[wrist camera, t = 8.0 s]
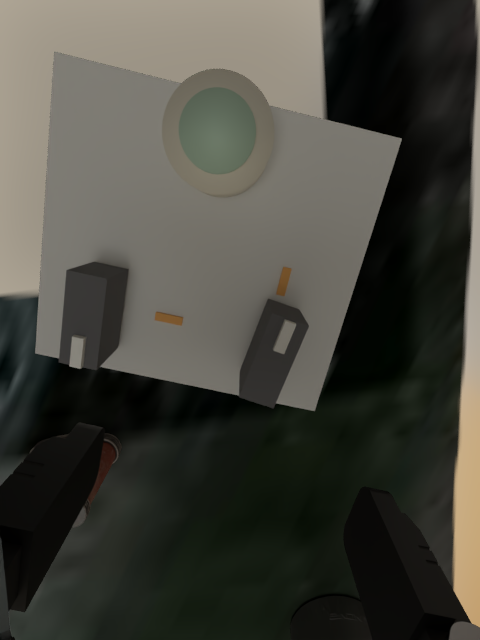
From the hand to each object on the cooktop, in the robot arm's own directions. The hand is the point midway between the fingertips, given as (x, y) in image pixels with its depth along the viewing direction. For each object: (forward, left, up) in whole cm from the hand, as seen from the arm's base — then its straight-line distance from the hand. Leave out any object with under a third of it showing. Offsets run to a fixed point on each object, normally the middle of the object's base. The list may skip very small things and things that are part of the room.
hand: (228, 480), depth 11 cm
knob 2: (-1, +10, -16) cm, 18 cm away
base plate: (+4, +4, -18) cm, 19 cm away
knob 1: (-1, -2, -16) cm, 16 cm away
